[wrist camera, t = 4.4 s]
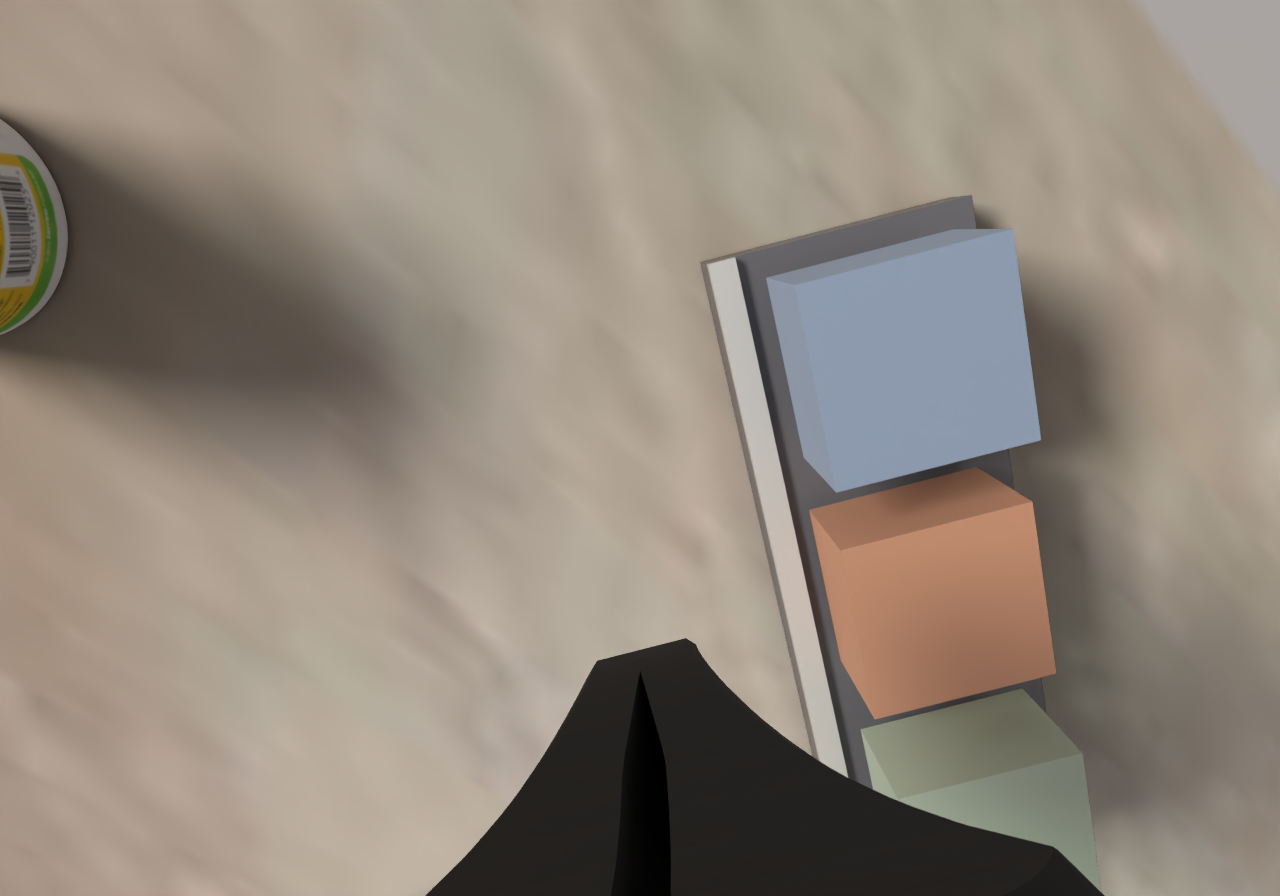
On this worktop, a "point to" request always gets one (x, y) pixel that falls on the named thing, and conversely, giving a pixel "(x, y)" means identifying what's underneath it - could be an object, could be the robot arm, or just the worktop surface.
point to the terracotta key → (935, 590)
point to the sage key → (990, 772)
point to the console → (795, 485)
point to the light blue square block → (907, 356)
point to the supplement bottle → (27, 231)
